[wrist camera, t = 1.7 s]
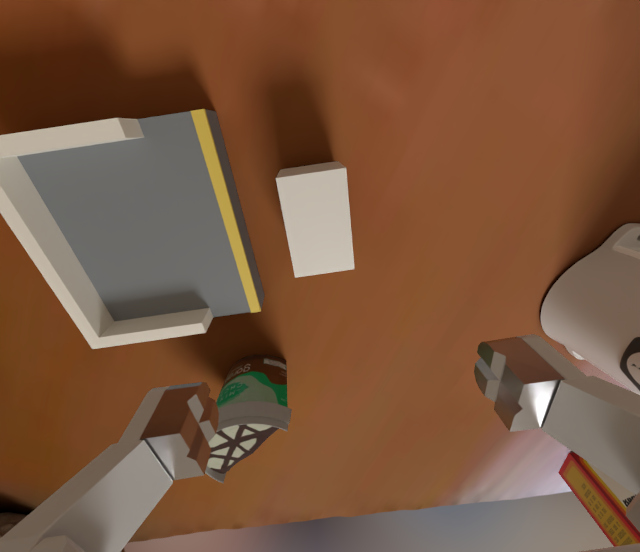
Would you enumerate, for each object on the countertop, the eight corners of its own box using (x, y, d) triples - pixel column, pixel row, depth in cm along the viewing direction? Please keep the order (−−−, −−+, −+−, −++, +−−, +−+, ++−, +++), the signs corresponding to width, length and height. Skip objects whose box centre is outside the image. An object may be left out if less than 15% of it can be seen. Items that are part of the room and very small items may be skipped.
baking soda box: (558, 472, 53) (651, 596, 39) (569, 452, 50) (674, 578, 36) (607, 466, 53) (717, 587, 39) (620, 446, 50) (745, 569, 36)
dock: (215, 111, 23) (192, 106, 18) (264, 295, 31) (257, 325, 27) (26, 140, 23) (-48, 142, 18) (124, 315, 32) (92, 349, 27)
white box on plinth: (335, 159, 25) (346, 167, 20) (343, 241, 29) (354, 269, 23) (281, 167, 25) (275, 178, 20) (296, 248, 29) (295, 277, 23)
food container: (253, 330, 34) (236, 401, 25) (293, 354, 36) (291, 428, 27) (199, 387, 37) (168, 466, 29) (238, 406, 40) (220, 485, 31)
